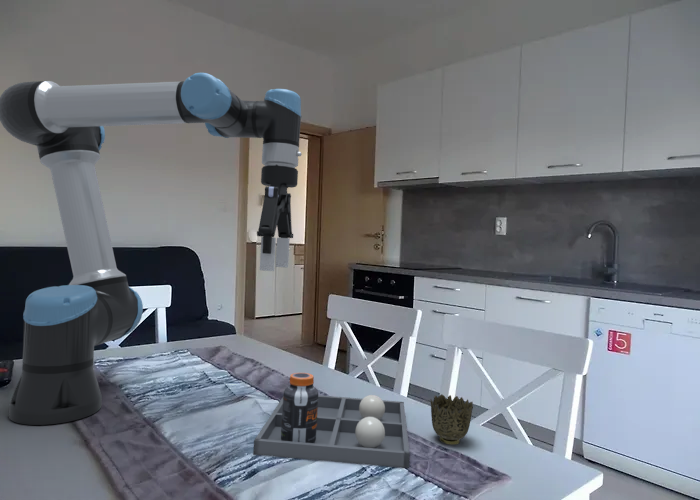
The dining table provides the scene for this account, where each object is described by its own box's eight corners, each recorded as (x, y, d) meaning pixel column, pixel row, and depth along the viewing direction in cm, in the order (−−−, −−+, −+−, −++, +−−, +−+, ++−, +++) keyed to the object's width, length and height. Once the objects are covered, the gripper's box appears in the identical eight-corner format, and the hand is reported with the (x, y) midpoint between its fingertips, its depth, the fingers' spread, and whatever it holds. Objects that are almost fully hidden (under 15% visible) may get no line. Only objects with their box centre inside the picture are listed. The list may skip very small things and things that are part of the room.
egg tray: (252, 460, 76) (254, 440, 76) (284, 408, 101) (285, 392, 101) (408, 474, 75) (409, 453, 75) (402, 417, 99) (403, 401, 99)
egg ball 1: (357, 425, 91) (359, 398, 91) (359, 415, 96) (360, 390, 96) (384, 427, 90) (385, 400, 90) (384, 417, 95) (385, 392, 95)
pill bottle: (310, 450, 79) (314, 381, 78) (275, 446, 80) (279, 377, 80) (319, 436, 85) (323, 372, 84) (287, 432, 86) (290, 368, 86)
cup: (462, 458, 81) (465, 411, 81) (421, 446, 85) (424, 401, 85) (476, 444, 87) (478, 400, 87) (437, 433, 91) (439, 391, 91)
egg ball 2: (353, 452, 79) (355, 421, 79) (355, 439, 84) (356, 411, 84) (384, 454, 79) (385, 424, 79) (384, 442, 84) (385, 413, 84)
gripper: (285, 157, 88) (279, 273, 89) (307, 176, 113) (302, 266, 113) (245, 155, 89) (239, 271, 89) (275, 174, 114) (271, 265, 114)
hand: (274, 269), depth 101 cm, fingers open, 13 cm apart
